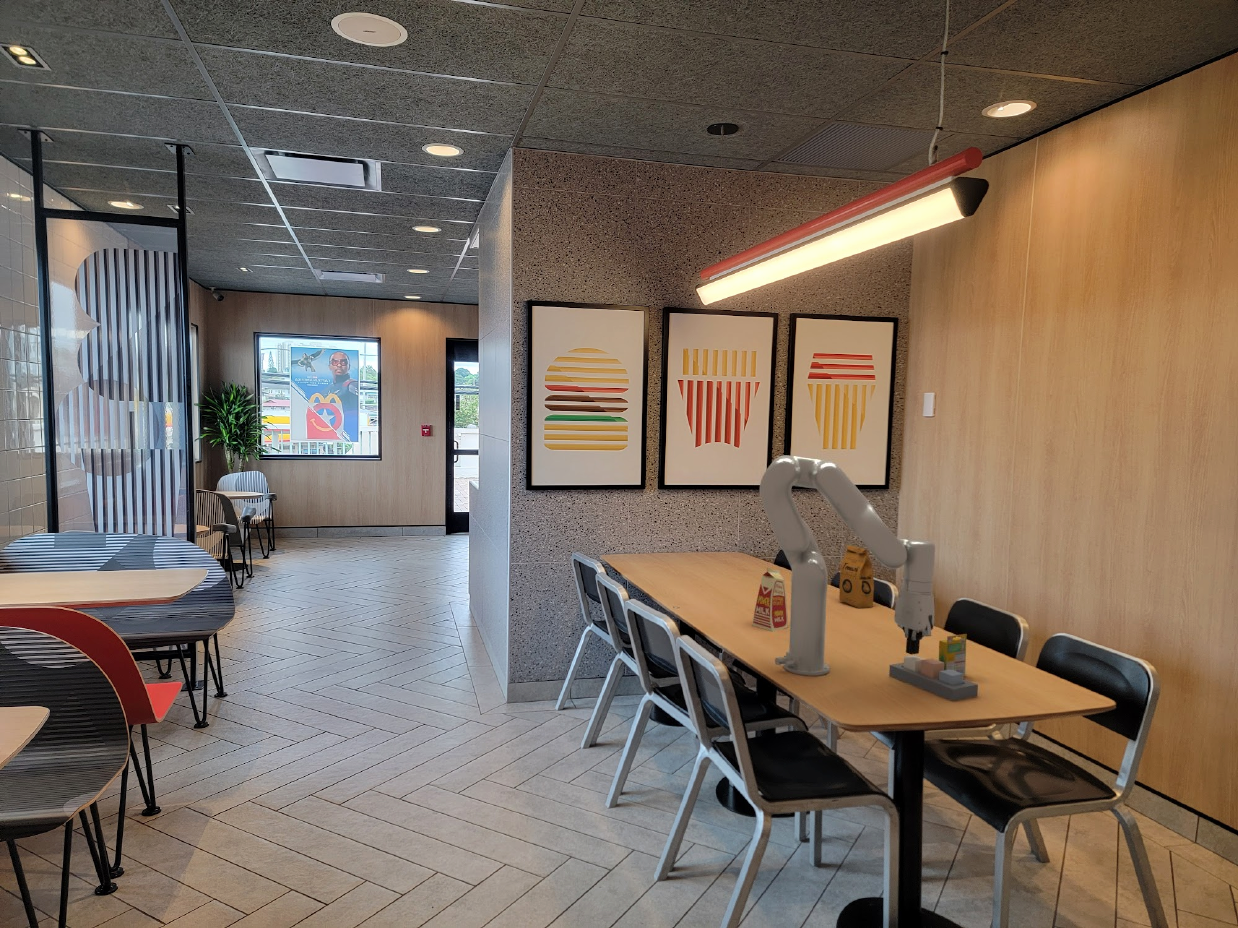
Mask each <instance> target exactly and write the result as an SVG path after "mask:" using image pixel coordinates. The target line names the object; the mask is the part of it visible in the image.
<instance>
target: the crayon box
mask: <svg viewBox="0 0 1238 928" xmlns="http://www.w3.org/2000/svg"><path fill="white" fill-rule="evenodd" d="M967 636H968V634H967V633H963V634H955V635H948V636H947V638H946V639H943V640H938V643H939V644H938V660H939V661H941V662H944V670H949V669H951V670H954V671H957V672H959V673H962V674H963V677H964V676H966V666H967V665H966V663H967V662H966V661H967V658H966V657H967Z"/></svg>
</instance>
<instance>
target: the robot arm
mask: <svg viewBox="0 0 1238 928" xmlns="http://www.w3.org/2000/svg"><path fill="white" fill-rule="evenodd" d="M793 486H794V487H801V488H802V487H803V488H809V489H816V490H817V492H818V493H820V495H821V496H822V498H824V499H825V501H826V502H827V503H828V505H830V506H831V507H832V509H833V510H834V511H835V513H836V514H837V515H838V516H839V518H840V519H841V520H842V521H843V522H844V524H845V525H846V526H847V527H848V528H849V529H850V530H851V531H852V532H853V533H854V534H855V535H856V536H857V537H858V538H859V540H860V541H861V542H862V543H863V544H864V545H865V547H866V549H868V551H870V553H871V554H872V555H873V556H874V558H875V559H876V560H877V561H878V562H879V563H880V564H881V566H883V567H884V568H887V569H889V570H895V569H899V568H901V567H903V570H902V571H903V572H902V573H903V574H902V575H903V576H902V578H900V582H901V584H902V585H901V586H902V587H900V588H899V590H898V594H897V596H896V603H895V607H894V616H893V619H894V623H896V625H897V627H898V628H899V629H901V630H903V633H904V638H906V645H905V653H906V654H909V655H910V656H913V655H919V653H920V644H921V643H920V642H921V640H923V638H925V637H931V636H932V631H933V629H934V625H935V609H936V608H935V600H934V599H935V597H934V594H933V585H934V584H933V582H934V571H935V558H936V546H935V544H934V542H932V541H930V540H923V539H906V538H901V537H897V536H896V535H895V534H894V533H893V532H892V531H891V529H890V528H889V527H888V526H887V524H886V523H885V522H884V520H882V518H881V517H880V516H879V514H878V513H877V512H876V510H875V508H874V506H873V505H872V504H871V502H869V500H868V499H867V498H866V496H864V494H863V493H862V492H861V490H859V489H858V487H857V486H856V484H855V483H854V482H853V481H852V480H851V479H850V477H848V476H847V474H846V473H845V471H843V469H842V468H841V467H840V466H839V465H838V464H837V463H836V462H834V461H831V460H828V459H827V460H826V459H816V458H809V457H802V456H794V455H789V454H788V455H779V456H777V457H776V458H775V459H774V460H773V461H772V462H771V463H770V465H768V467H767V469H766V470H765V472H764V473H763V475H762V477H761V480H760V483H759V498H760V502H761V504H762V507H763V510H764V512H765V514H766V517H767V519H768V522H769V525H770V526H771V529H772V531H773V533H774V536H775V539H776V543H777V544H778V546H779V548H780V549H781V550H782V551H783V553H784V555H785V557H786V559H787V562H788V564H789V566H790V569H791V575H790V576H791V578H790V579H791V580H790V582H791V583H790V587H791V589H790V591H791V592H790V618H789V619H790V621H789V622H790V623H789V625H790V626H789V645H788V646H789V650H788V651H786V652H785V655H784V656H779V657H775V659H774V663H775V665H777V666H778V665H782V667H783V668H784V670H786V671H788V672H789V673H793V674H795V675H801V676H809V677H810V676H814V677H815V676H823V675H827V674H829V673H830V670H831V668H830V665H829V664H827V663H826V662H825V647H826V646H825V645H826V622H827V621H826V619H827V618H826V616H827V614H826V613H827V593H828V581H829V580H828V579H829V576H828V575H829V574H828V573H829V572H828V568H827V567H828V566H827V564H826V561H825V558H824V556H823V554H822V553H821V550H820V548H819V546H818V544H817V541H816V539H815V536H814V535H813V532H812V530H811V527H810V526H809V525H808V523H807V522H806V521H805V520H804V519H803V518H802V516H801V514H800V511H799V509H798V507H797V504H796V502H795V499H794V498H793V495H792V487H793Z"/></svg>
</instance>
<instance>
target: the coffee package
mask: <svg viewBox="0 0 1238 928" xmlns="http://www.w3.org/2000/svg"><path fill="white" fill-rule="evenodd" d="M845 549H846V552H845V554H844V557H843V558H842V561H841V563H840V565H839V568H840V569H839V571H840V573H839V587H838V588H839V598H838V599H839V600H838V601H840V602H843V603H845V604H848V605H850V606H853V607H855V608H858V609H861V608H862V609H866V608H873V607H874V591H875V581H874V580H875V579H874V571H873V570H874V569H873V566H872V561H871V559H870V558H871V557H870V555H869V552H868V551H869V550H867V549H868V548H862V547H858V546H853V545H849V544H847V545H846V546H845Z"/></svg>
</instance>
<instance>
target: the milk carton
mask: <svg viewBox="0 0 1238 928" xmlns="http://www.w3.org/2000/svg"><path fill="white" fill-rule="evenodd" d="M780 572H781V570H779V569H771V568H768V567H767V568H766V572H765V573H764V574H762V576H761V580H760V585H759V589H758V593H757V596H756V597H757V598H756V602H755V607H754V611H753V612H754V613H753V618H752V622H751V623H752V626H754V627H757V628H760V629H764V630H766V631H769V632H776V631H780V630H784V629H786V628H788V627H789V620H788V619H789V615H788V614H789V613H788V603H787V593H786V591H787V590H786V584H785V579H784V577H782V575H781V573H780Z"/></svg>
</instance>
